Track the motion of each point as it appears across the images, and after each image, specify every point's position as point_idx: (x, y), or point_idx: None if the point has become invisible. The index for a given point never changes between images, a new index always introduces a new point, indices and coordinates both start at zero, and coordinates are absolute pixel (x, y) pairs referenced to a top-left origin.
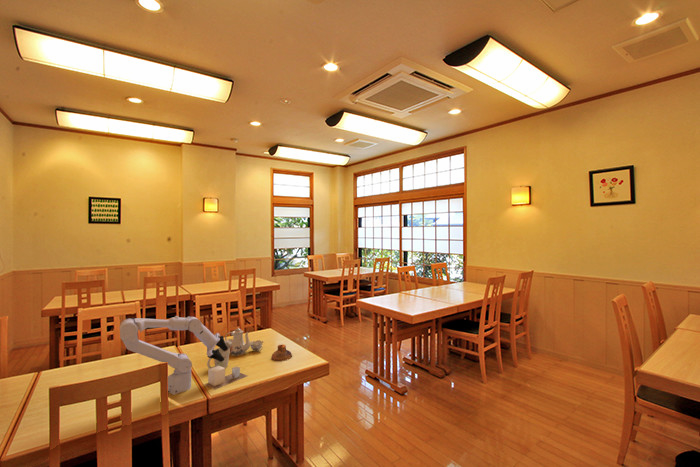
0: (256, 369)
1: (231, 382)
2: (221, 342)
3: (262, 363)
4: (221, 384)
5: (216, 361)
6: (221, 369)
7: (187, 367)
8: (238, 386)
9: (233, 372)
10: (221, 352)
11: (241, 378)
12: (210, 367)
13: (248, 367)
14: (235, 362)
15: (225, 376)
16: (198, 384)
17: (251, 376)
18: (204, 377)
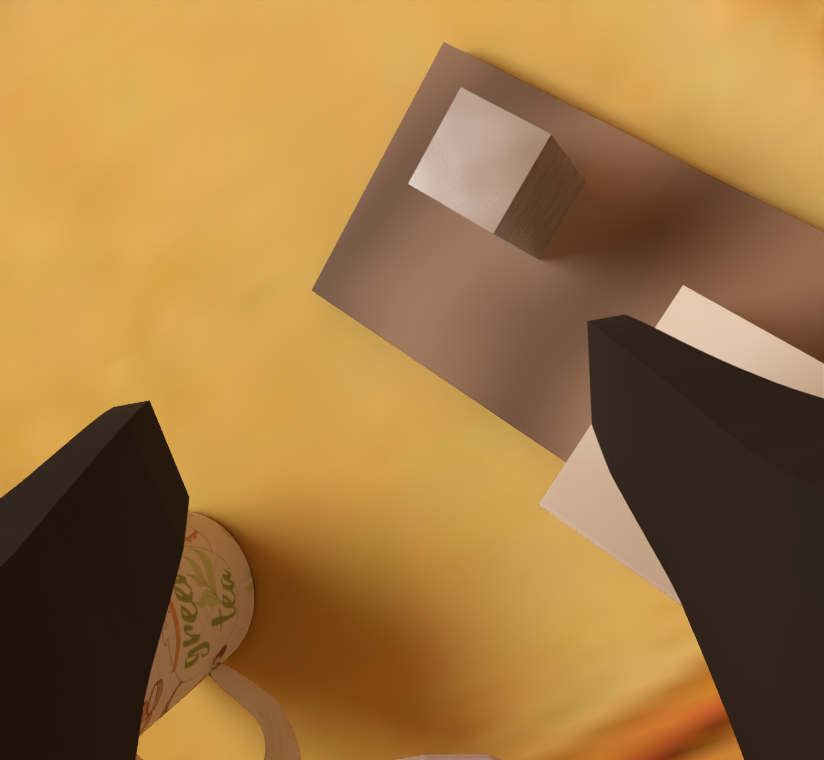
0: (193, 83)
1: (707, 185)
2: (14, 670)
3: (32, 100)
4: (800, 322)
5: (175, 683)
6: (770, 336)
7: None
8: (775, 38)
9: (537, 204)
10: None
11: (544, 96)
12: (283, 729)
13: (144, 227)
14: (25, 472)
15: (483, 395)
16: (725, 742)
17: (405, 30)
18: (471, 730)
